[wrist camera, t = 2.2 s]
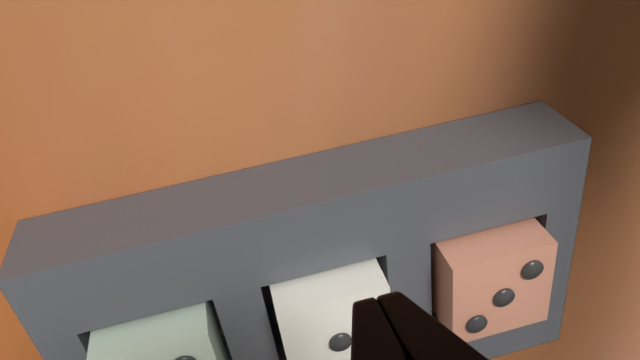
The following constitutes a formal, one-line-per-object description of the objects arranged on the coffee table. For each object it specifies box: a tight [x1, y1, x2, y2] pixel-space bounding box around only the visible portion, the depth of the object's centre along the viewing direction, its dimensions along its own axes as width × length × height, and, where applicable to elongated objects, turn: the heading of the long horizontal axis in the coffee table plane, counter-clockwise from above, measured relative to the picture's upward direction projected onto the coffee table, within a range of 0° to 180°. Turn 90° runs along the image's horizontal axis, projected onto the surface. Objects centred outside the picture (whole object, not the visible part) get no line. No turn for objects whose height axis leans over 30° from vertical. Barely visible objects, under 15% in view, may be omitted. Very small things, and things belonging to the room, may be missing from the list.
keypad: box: [0, 101, 592, 360], centre depth 21 cm, size 19×10×3 cm, turn 97°
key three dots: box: [430, 217, 558, 342], centre depth 21 cm, size 4×4×2 cm
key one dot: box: [269, 258, 390, 360], centre depth 20 cm, size 4×4×2 cm
